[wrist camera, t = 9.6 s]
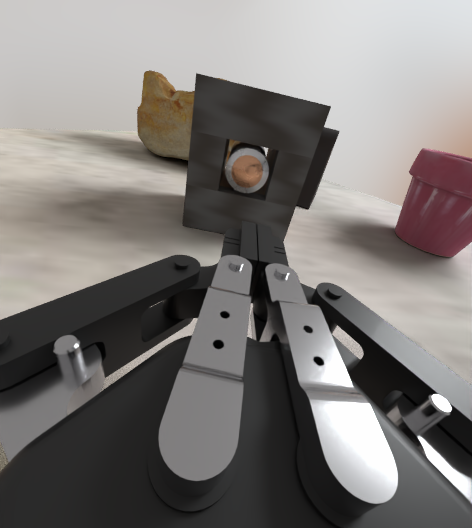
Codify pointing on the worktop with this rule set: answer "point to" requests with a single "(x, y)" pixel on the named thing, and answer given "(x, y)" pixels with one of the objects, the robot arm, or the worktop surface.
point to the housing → (252, 132)
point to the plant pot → (438, 204)
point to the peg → (247, 167)
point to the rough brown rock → (166, 117)
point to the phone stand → (317, 167)
